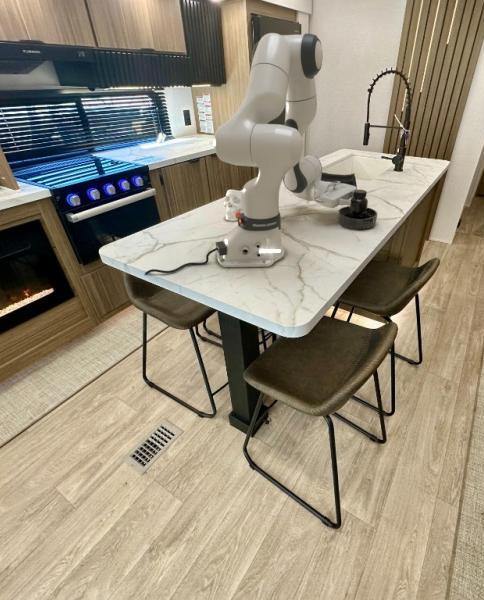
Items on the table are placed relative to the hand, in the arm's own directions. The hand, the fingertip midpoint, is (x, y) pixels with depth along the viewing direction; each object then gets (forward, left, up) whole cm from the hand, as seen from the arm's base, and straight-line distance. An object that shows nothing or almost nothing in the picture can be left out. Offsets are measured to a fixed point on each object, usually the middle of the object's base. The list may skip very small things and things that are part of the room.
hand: (356, 199), depth 126 cm
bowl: (+1, -1, -9) cm, 9 cm away
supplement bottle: (+1, -1, -9) cm, 9 cm away
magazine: (+2, +40, -10) cm, 41 cm away
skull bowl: (-45, +19, -10) cm, 50 cm away
